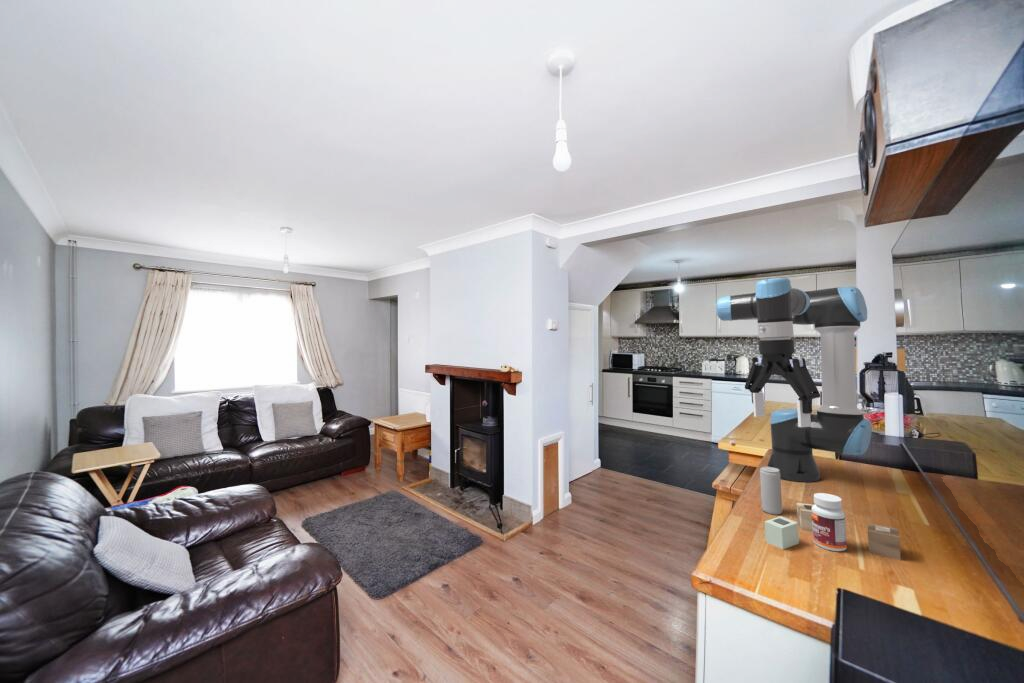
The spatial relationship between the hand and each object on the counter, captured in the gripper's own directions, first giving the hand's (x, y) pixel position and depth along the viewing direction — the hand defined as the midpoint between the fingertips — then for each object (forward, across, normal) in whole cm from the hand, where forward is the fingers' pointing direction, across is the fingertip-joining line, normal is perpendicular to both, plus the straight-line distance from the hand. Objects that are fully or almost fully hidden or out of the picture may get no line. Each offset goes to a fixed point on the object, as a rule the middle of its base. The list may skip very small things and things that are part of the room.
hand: (780, 421), depth 98 cm
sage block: (+28, +6, -7) cm, 29 cm away
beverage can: (+28, -9, +4) cm, 30 cm away
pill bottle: (+28, +9, +2) cm, 29 cm away
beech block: (+28, +1, +6) cm, 29 cm away
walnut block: (+28, +14, +11) cm, 33 cm away
